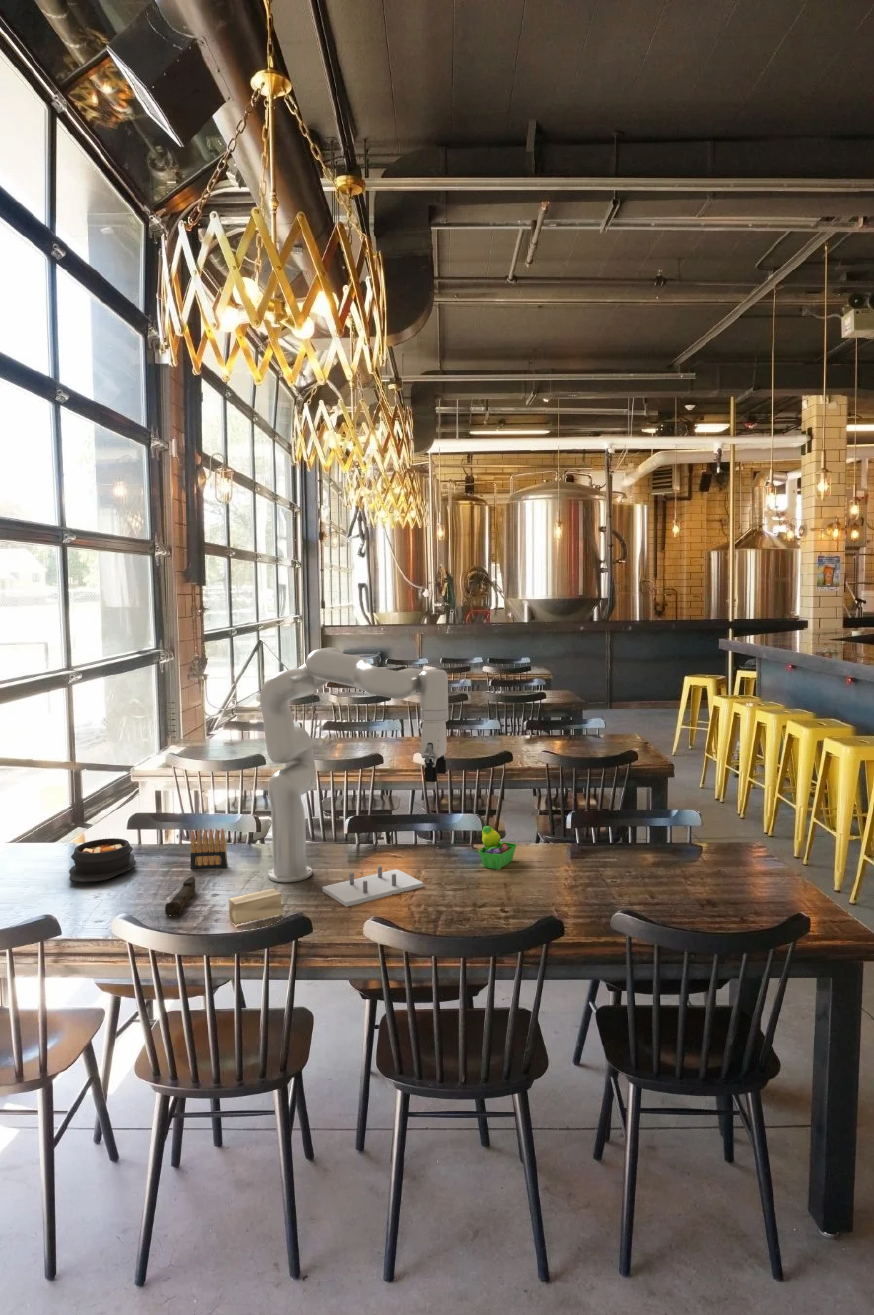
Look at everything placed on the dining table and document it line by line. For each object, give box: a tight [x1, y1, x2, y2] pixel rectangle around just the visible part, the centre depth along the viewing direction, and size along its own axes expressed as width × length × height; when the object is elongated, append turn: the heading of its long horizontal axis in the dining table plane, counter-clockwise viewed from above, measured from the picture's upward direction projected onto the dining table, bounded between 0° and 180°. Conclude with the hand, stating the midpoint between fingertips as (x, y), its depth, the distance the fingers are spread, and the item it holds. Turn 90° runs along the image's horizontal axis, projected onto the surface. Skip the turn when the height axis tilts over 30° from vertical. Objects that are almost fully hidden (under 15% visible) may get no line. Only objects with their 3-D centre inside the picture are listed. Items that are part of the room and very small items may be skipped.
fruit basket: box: [477, 825, 518, 870], centre depth 243 cm, size 11×9×11 cm
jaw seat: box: [321, 865, 424, 908], centre depth 224 cm, size 14×24×4 cm, turn 124°
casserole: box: [68, 837, 137, 883], centre depth 241 cm, size 25×19×8 cm
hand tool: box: [164, 876, 196, 917], centre depth 217 cm, size 19×4×5 cm, turn 178°
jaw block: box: [228, 888, 282, 925], centre depth 205 cm, size 4×12×6 cm, turn 124°
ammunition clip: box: [190, 828, 228, 871], centre depth 244 cm, size 11×2×12 cm, turn 93°
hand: (435, 777), depth 221 cm, fingers open, 9 cm apart
